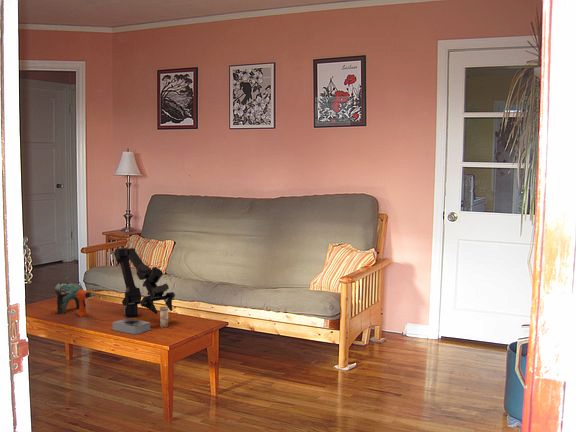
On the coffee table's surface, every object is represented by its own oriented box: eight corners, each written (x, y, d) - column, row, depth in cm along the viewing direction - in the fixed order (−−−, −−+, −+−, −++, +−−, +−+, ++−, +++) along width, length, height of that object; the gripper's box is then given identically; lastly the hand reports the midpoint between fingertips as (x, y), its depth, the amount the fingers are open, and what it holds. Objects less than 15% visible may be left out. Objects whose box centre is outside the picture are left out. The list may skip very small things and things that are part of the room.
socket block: (127, 325, 318) (127, 318, 318) (150, 330, 310) (150, 322, 310) (112, 329, 309) (112, 322, 309) (135, 334, 301) (135, 326, 301)
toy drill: (92, 318, 327) (90, 290, 327) (75, 316, 340) (73, 289, 340) (100, 316, 331) (98, 289, 331) (83, 314, 343) (81, 288, 343)
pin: (167, 325, 320) (167, 306, 319) (169, 326, 316) (169, 308, 316) (159, 325, 318) (159, 307, 318) (161, 327, 315) (161, 308, 314)
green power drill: (61, 315, 339) (60, 279, 337) (52, 313, 342) (51, 278, 340) (86, 307, 357) (86, 274, 355) (78, 306, 360) (77, 273, 358)
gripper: (143, 281, 312) (155, 305, 306) (173, 277, 326) (185, 300, 319) (134, 294, 319) (146, 318, 312) (164, 289, 332) (176, 312, 325)
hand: (164, 312), depth 317 cm, fingers open, 9 cm apart
